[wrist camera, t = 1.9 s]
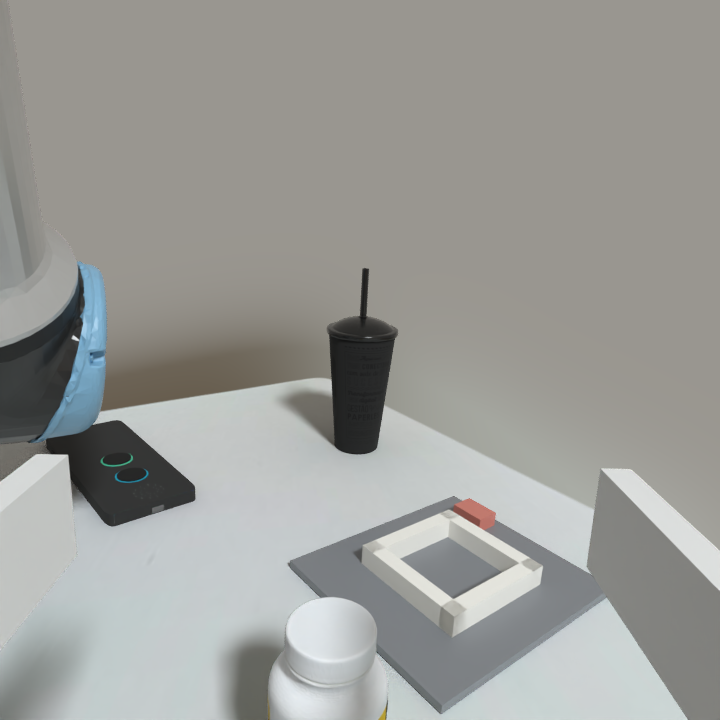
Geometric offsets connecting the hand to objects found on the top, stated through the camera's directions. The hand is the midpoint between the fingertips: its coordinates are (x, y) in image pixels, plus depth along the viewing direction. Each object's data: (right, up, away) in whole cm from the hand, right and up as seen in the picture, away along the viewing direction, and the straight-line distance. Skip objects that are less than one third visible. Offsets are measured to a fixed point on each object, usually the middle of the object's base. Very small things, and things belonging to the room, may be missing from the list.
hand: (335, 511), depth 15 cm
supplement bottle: (-1, -17, +14) cm, 22 cm away
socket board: (+7, -13, +30) cm, 33 cm away
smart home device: (-24, -8, +44) cm, 51 cm away
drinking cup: (0, -6, +52) cm, 53 cm away
